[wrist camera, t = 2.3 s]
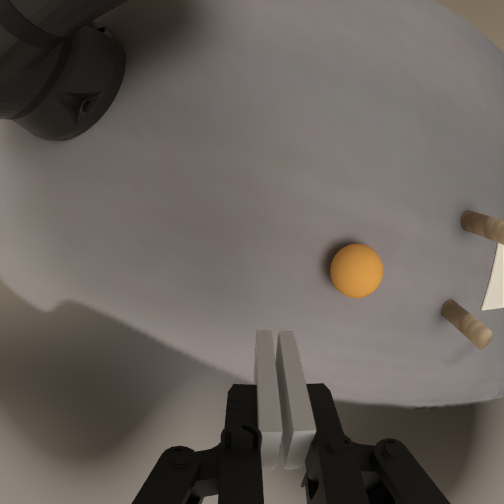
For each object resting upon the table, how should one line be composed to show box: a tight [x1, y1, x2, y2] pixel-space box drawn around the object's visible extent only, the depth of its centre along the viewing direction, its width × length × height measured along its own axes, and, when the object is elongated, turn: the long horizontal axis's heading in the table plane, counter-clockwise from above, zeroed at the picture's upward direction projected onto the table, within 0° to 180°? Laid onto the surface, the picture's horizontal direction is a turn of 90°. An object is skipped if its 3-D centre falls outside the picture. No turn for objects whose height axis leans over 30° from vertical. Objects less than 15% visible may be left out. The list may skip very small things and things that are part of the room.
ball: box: [330, 244, 383, 298], centre depth 28 cm, size 6×6×6 cm
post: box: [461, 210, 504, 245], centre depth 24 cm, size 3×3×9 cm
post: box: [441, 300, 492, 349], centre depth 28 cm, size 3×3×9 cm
